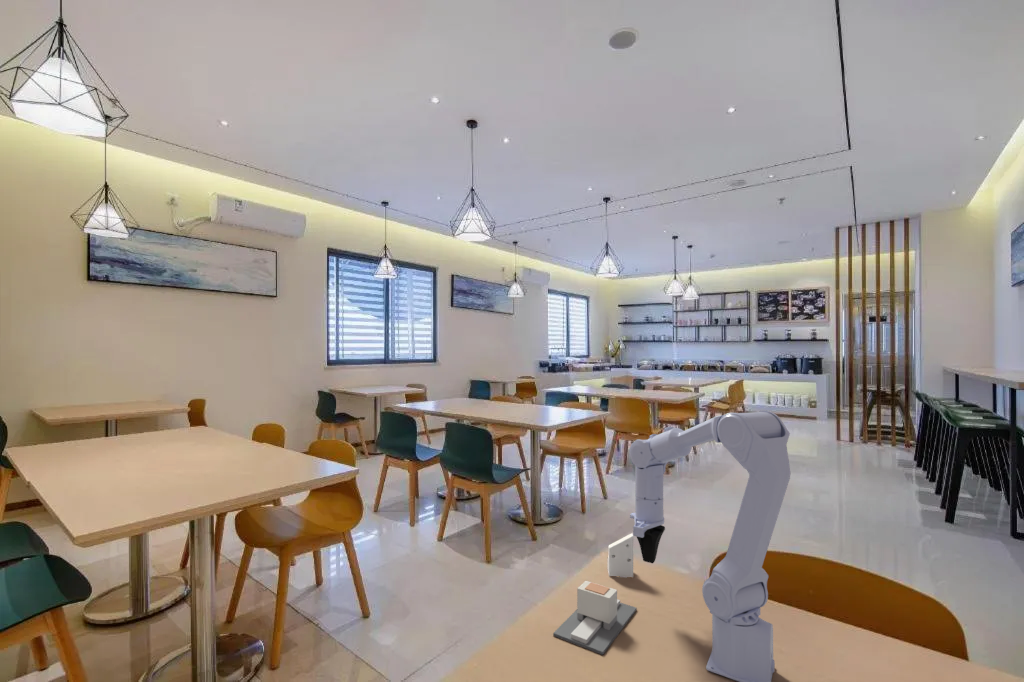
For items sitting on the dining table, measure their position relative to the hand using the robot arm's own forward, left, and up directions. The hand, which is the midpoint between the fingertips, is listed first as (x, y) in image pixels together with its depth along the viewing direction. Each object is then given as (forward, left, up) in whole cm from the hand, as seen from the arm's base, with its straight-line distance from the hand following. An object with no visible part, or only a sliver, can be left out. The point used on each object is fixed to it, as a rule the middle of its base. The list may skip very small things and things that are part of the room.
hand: (649, 561), depth 98 cm
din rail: (+7, +11, -10) cm, 16 cm away
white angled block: (+11, -12, -10) cm, 19 cm away
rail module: (+7, +11, -9) cm, 16 cm away
